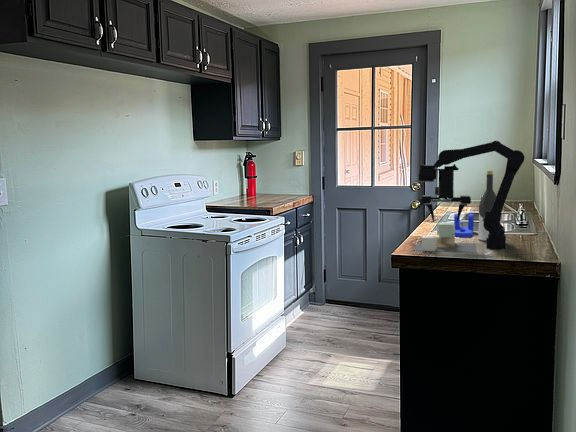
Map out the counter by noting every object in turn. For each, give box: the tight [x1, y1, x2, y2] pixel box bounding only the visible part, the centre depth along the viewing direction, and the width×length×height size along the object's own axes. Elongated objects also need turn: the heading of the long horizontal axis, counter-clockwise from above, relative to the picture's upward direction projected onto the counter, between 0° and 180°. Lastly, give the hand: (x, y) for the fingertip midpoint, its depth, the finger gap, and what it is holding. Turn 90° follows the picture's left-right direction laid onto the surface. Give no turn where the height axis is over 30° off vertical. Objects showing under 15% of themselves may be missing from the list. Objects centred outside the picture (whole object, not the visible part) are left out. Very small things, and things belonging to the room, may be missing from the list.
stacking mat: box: [413, 223, 478, 254], centre depth 216 cm, size 23×20×9 cm
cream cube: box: [421, 235, 437, 252], centre depth 212 cm, size 5×5×5 cm
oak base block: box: [436, 234, 456, 248], centre depth 218 cm, size 7×7×4 cm
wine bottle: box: [478, 170, 497, 243], centre depth 227 cm, size 8×8×30 cm
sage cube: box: [438, 222, 454, 237], centre depth 218 cm, size 5×5×5 cm
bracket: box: [453, 212, 475, 238], centre depth 251 cm, size 18×8×9 cm, turn 159°
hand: (445, 221), depth 218 cm, fingers open, 9 cm apart
